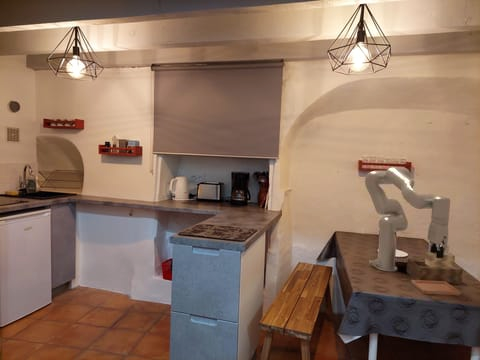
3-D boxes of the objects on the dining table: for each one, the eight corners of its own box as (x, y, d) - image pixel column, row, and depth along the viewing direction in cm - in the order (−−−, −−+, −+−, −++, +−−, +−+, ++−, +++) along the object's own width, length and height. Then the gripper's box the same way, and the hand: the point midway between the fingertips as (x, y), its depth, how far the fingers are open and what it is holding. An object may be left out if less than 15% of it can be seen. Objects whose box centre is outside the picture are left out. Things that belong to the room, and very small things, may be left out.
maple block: (429, 266, 162) (431, 255, 161) (424, 263, 166) (425, 252, 166) (453, 267, 162) (455, 255, 161) (448, 264, 166) (449, 253, 166)
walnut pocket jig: (419, 282, 174) (420, 267, 173) (406, 272, 188) (407, 259, 187) (461, 284, 173) (462, 269, 173) (445, 274, 187) (446, 260, 187)
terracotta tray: (424, 293, 159) (424, 290, 159) (410, 283, 172) (410, 279, 172) (460, 295, 159) (461, 291, 159) (444, 284, 172) (444, 281, 172)
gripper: (422, 217, 171) (420, 251, 172) (442, 224, 154) (439, 261, 155) (437, 217, 171) (434, 251, 172) (458, 225, 154) (454, 262, 155)
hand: (436, 256), depth 164 cm, fingers closed on maple block, 4 cm apart
